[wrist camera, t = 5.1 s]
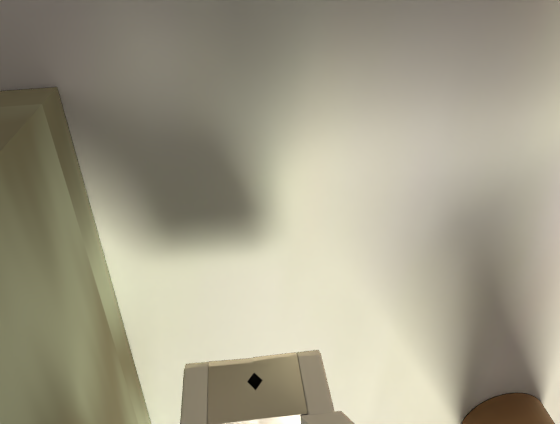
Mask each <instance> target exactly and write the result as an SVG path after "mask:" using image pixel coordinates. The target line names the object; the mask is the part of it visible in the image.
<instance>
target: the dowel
mask: <svg viewBox="0 0 560 424" xmlns="http://www.w3.org/2000/svg"><path fill="white" fill-rule="evenodd" d="M462 424H555V423H554V422H553V420H552V418H551V417H550V415H549V414H548V412H547V411H546V409H545V408H544V406H543V405H542V403H541V402H540V400H538V399H537V398H536V397H534V396H532V395H529V394H524V393H510V394H505V395H500V396H497V397H494V398H492V399H489V400H487V401H485V402H483V403H481V404H480V405H478V406H477V407H475V408H474V409H473V410H472V411H471V412H470V413H469V414H468V415H467V416H466V417H465V419H464V420H463V422H462Z"/></svg>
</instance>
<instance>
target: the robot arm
mask: <svg viewBox="0 0 560 424" xmlns="http://www.w3.org/2000/svg"><path fill="white" fill-rule="evenodd" d="M180 424H354V423H353V422H352V421H351V420H350V419H349V418H348V417H347V416H346V415H345V414H344V413H343V412H342V411H334V407H333V403H332V399H331V395H330V390H329V386H328V382H327V378H326V374H325V369H324V365H323V361H322V357H321V353H320V352H319V350H313V351H304V352H297V353H296V352H293V353H285V354H276V355H268V356H260V357H253V358H246V359H234V360H221V361H209V362H201V363H189V364H186V365H185V369H184V377H183V391H182V405H181V420H180Z"/></svg>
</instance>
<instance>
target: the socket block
mask: <svg viewBox="0 0 560 424" xmlns="http://www.w3.org/2000/svg"><path fill="white" fill-rule="evenodd" d="M0 424H151V422H150V418H149V415H148V411H147V407H146V404H145V400H144V397H143V393H142V390H141V386H140V382H139V379H138V375H137V372H136V368H135V365H134V361H133V357H132V354H131V350H130V347H129V343H128V339H127V336H126V332H125V329H124V325H123V322H122V318H121V314H120V311H119V307H118V304H117V300H116V297H115V293H114V289H113V286H112V282H111V279H110V275H109V271H108V268H107V264H106V261H105V257H104V254H103V250H102V246H101V243H100V239H99V236H98V232H97V229H96V225H95V221H94V218H93V214H92V211H91V207H90V204H89V200H88V196H87V193H86V189H85V186H84V182H83V178H82V175H81V171H80V168H79V164H78V161H77V157H76V153H75V150H74V146H73V143H72V139H71V136H70V132H69V128H68V125H67V121H66V118H65V114H64V110H63V107H62V103H61V100H60V96H59V93H58V89H57V87H53V88H38V89H24V90H9V91H0Z"/></svg>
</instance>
